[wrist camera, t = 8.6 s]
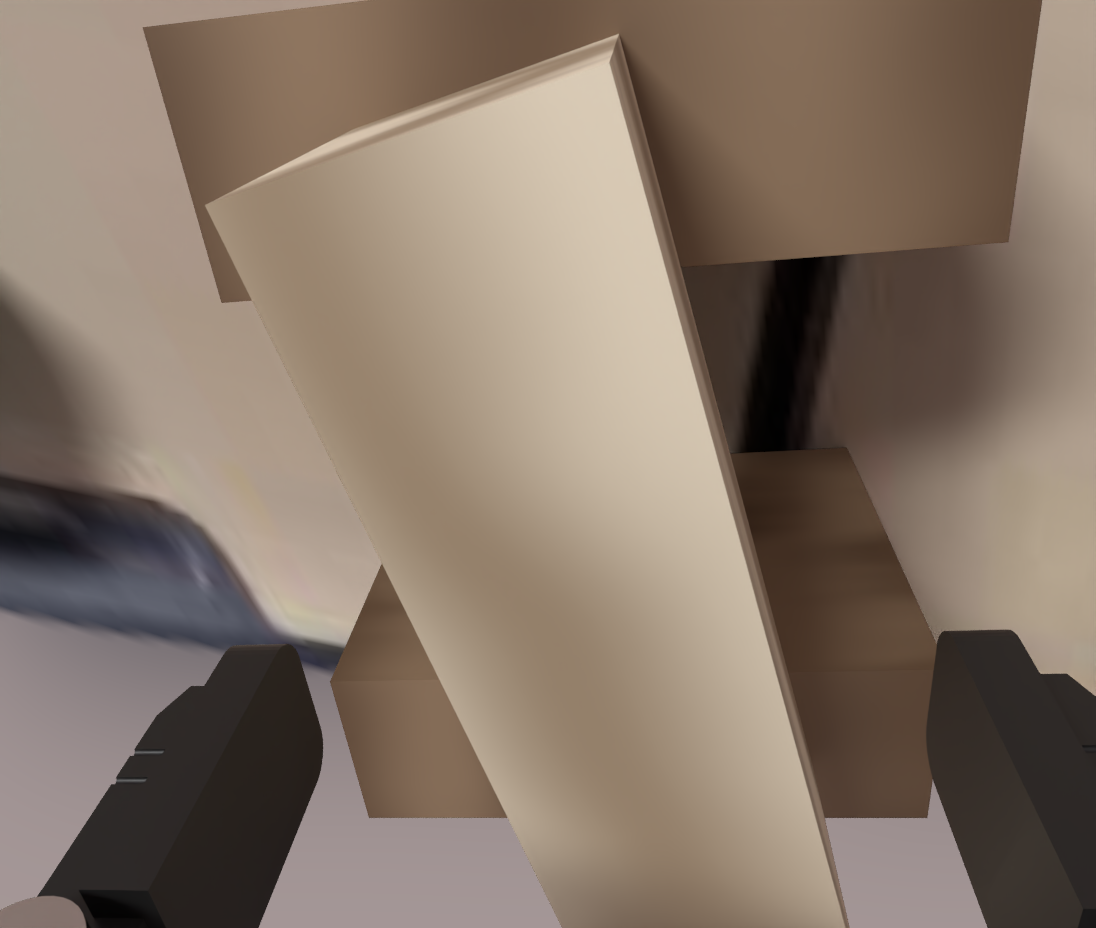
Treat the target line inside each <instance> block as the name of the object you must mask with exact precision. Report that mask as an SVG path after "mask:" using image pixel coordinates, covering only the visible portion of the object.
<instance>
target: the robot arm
mask: <svg viewBox="0 0 1096 928" xmlns="http://www.w3.org/2000/svg"><path fill="white" fill-rule="evenodd" d="M926 744H927V754H928V760H929V766H930V770H931V774H932V778H933V781H934V783H935V786H936V789H937V792H938V794H939V797H940V800H941V803H942V805H943V808H944V811H945V813H946V816H947V819H948V822H949V824H950V827H951V830H952V832H953V835H954V838H955V841H956V843H957V846H958V849H959V851H960V854H961V857H962V859H963V862H964V865H965V868H966V870H967V873H968V876H969V878H970V881H971V884H972V886H973V889H974V892H975V895H976V897H977V900H978V903H979V905H980V908H981V910H982V914H983V916H984V919H985V922H986V924H987V927H988V928H1096V696H1094V695H1093V694H1092V693H1091V692H1089V691H1088V690H1087V689H1085V688H1084V687H1083V686H1082V685H1080V684H1079V683H1078V682H1077V681H1075V680H1074V679H1073V678H1072V677H1070V676H1069V675H1068V674H1040V673H1039V671H1038V670H1037V668H1036V666H1035V664H1034V663H1033V661H1032V659H1031V658H1030V656H1029V654H1028V652H1027V651H1026V649H1025V647H1024V645H1023V644H1022V642H1021V640H1020V639H1019V637H1018V636H1017V635H1016V634H1015V633H1014V632H1013V631H1011V630H971V631H944V632H942V633H941V634H940V636H939V639H938V642H937V648H936V656H935V663H934V671H933V679H932V686H931V694H930V701H929V709H928V717H927V725H926ZM322 758H323V738H322V731H321V728H320V724H319V721H318V717H317V714H316V711H315V707H314V704H313V701H312V698H311V694H310V691H309V688H308V684H307V681H306V678H305V674H304V671H303V668H302V665H301V661H300V658H299V655H298V653H297V651H296V649H295V648H294V647H293V646H292V645H289V644H274V645H236V646H232V647H230V648H229V649H228V650H227V651H226V652H225V654H224V655H223V657H222V658H221V660H220V661H219V663H218V665H217V666H216V668H215V669H214V671H213V673H212V674H211V676H210V678H209V680H208V681H207V683H206V684H205V686H191V687H190V688H188V689H187V690H186V691H185V692H184V693H183V694H181V695H180V696H179V697H178V698H177V699H176V700H174V701H173V702H172V703H171V704H170V705H169V706H167V707H166V708H165V709H164V710H163V711H162V712H160V713H159V714H158V715H157V716H156V718H155V719H154V721H153V722H152V724H151V725H150V727H149V728H148V730H147V731H146V733H145V734H144V736H143V737H142V739H141V740H140V742H139V743H138V745H137V746H136V748H135V754H134V756H130V757H129V759H128V760H127V762H126V763H125V765H124V766H123V768H122V769H121V771H120V772H119V774H118V775H117V777H116V778H117V781H116V784H112V785H111V786H110V787H109V789H108V791H107V792H106V793H105V795H104V796H103V798H102V799H101V801H100V803H99V804H98V806H97V807H96V809H95V810H94V812H93V813H92V815H91V816H90V818H89V819H88V821H87V822H86V824H85V825H84V827H83V828H82V830H81V831H80V833H79V834H78V836H77V837H76V839H75V840H74V842H73V844H72V845H71V847H70V848H69V850H68V851H67V853H66V854H65V856H64V858H63V859H62V860H61V862H60V863H59V865H58V866H57V868H56V869H55V871H54V873H53V874H52V876H51V877H50V878H49V880H48V881H47V883H46V884H45V886H44V888H43V889H42V890H41V892H40V893H39V895H38V896H37V897H34V898H30V899H26V900H23V901H20V902H17V903H15V904H12V905H10V906H7V907H5V908H3V909H1V910H0V928H258V927H259V925H260V922H261V920H262V917H263V915H264V912H265V910H266V907H267V905H268V903H269V900H270V897H271V895H272V893H273V890H274V888H275V885H276V883H277V880H278V878H279V875H280V873H281V870H282V868H283V865H284V863H285V860H286V858H287V855H288V853H289V850H290V848H291V845H292V843H293V841H294V838H295V835H296V833H297V830H298V828H299V826H300V823H301V821H302V818H303V816H304V813H305V811H306V808H307V806H308V803H309V801H310V798H311V795H312V793H313V791H314V788H315V786H316V783H317V781H318V778H319V775H320V771H321V765H322Z"/></svg>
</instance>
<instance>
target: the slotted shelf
mask: <svg viewBox="0 0 1096 928" xmlns="http://www.w3.org/2000/svg"><path fill="white" fill-rule="evenodd" d="M1041 5H1042V0H368V1H359V2H351V3H343V4H334V5H326V6H318V7H309V8H301V9H293V10H284V11H276V12H268V13H259V14H251V15H243V16H234V17H226V18H218V19H209V20H201V21H193V22H184V23H176V24H168V25H159V26H151V27H143V30H144V33H145V37H146V40H147V44H148V47H149V51H150V54H151V58H152V61H153V65H154V68H155V72H156V75H157V79H158V82H159V86H160V89H161V93H162V96H163V100H164V103H165V107H166V110H167V114H168V117H169V121H170V124H171V128H172V131H173V135H174V138H175V142H176V145H177V149H178V152H179V156H180V159H181V163H182V166H183V170H184V173H185V177H186V180H187V184H188V187H189V191H190V194H191V198H192V201H193V205H194V208H195V212H196V215H197V219H198V222H199V226H200V229H201V233H202V236H203V240H204V243H205V247H206V250H207V254H208V257H209V260H210V264H211V267H212V271H213V274H214V278H215V281H216V285H217V288H218V292H219V295H220V299H221V302H222V303H226V302H239V301H252V300H251V298H250V296H249V294H248V292H247V289H246V287H245V285H244V283H243V281H242V279H241V277H240V275H239V273H238V271H237V269H236V267H235V265H234V263H233V261H232V259H231V257H230V255H229V253H228V251H227V249H226V247H225V245H224V243H223V241H222V239H221V237H220V235H219V233H218V231H217V229H216V227H215V225H214V223H213V221H212V219H211V217H210V215H209V213H208V211H207V209H206V207H205V205H206V204H208V203H210V202H212V201H214V200H216V199H218V198H220V197H222V196H224V195H226V194H228V193H230V192H232V191H234V190H236V189H237V188H239V187H241V186H243V185H245V184H247V183H249V182H251V181H253V180H255V179H257V178H259V177H261V176H263V175H265V174H267V173H269V172H271V171H273V170H275V169H277V168H279V167H280V166H282V165H284V164H286V163H288V162H290V161H292V160H294V159H296V158H298V157H300V156H302V155H304V154H306V153H308V152H310V151H312V150H314V149H316V148H318V147H320V146H322V145H323V144H325V143H327V142H329V141H331V140H333V139H335V138H337V137H339V136H341V135H343V134H345V133H347V132H349V131H351V130H353V129H356V128H358V127H361V126H364V125H367V124H370V123H372V122H375V121H378V120H381V119H383V118H386V117H389V116H392V115H395V114H397V113H400V112H403V111H406V110H408V109H411V108H414V107H417V106H420V105H422V104H425V103H428V102H431V101H434V100H436V99H439V98H442V97H445V96H447V95H450V94H453V93H456V92H459V91H461V90H464V89H467V88H470V87H472V86H475V85H478V84H481V83H484V82H486V81H489V80H492V79H495V78H497V77H500V76H503V75H506V74H509V73H511V72H514V71H517V70H520V69H522V68H525V67H528V66H531V65H534V64H536V63H539V62H542V61H545V60H547V59H550V58H553V57H556V56H559V55H561V54H564V53H567V52H570V51H572V50H575V49H578V48H581V47H584V46H586V45H589V44H592V43H595V42H597V41H600V40H603V39H606V38H609V37H611V36H614V35H617V34H619V36H620V40H621V44H622V48H623V51H624V55H625V59H626V63H627V66H628V70H629V74H630V78H631V82H632V85H633V89H634V93H635V97H636V100H637V104H638V108H639V112H640V115H641V119H642V123H643V127H644V131H645V134H646V138H647V142H648V146H649V149H650V153H651V157H652V161H653V165H654V168H655V172H656V176H657V180H658V183H659V187H660V191H661V195H662V199H663V202H664V206H665V210H666V214H667V217H668V221H669V225H670V229H671V232H672V236H673V240H674V244H675V248H676V251H677V255H678V259H679V263H680V266H681V267H692V266H705V265H718V264H731V263H744V262H757V261H770V260H783V259H796V258H809V257H822V256H835V255H847V254H860V253H873V252H886V251H899V250H912V249H925V248H938V247H951V246H964V245H977V244H990V243H1003V242H1008V240H1009V232H1010V225H1011V218H1012V211H1013V204H1014V197H1015V190H1016V183H1017V176H1018V168H1019V161H1020V154H1021V147H1022V140H1023V133H1024V126H1025V119H1026V112H1027V104H1028V97H1029V90H1030V83H1031V76H1032V69H1033V62H1034V55H1035V48H1036V40H1037V33H1038V26H1039V19H1040V12H1041ZM730 455H731V459H732V463H733V466H734V470H735V474H736V478H737V482H738V485H739V489H740V493H741V497H742V500H743V504H744V508H745V512H746V516H747V519H748V523H749V527H750V531H751V534H752V538H753V542H754V546H755V549H756V553H757V557H758V561H759V565H760V568H761V572H762V576H763V580H764V583H765V587H766V591H767V595H768V599H769V602H770V606H771V610H772V614H773V617H774V621H775V625H776V629H777V633H778V636H779V640H780V644H781V648H782V651H783V655H784V659H785V663H786V666H787V670H788V674H789V678H790V682H791V685H792V689H793V693H794V697H795V700H796V704H797V708H798V712H799V716H800V719H801V723H802V727H803V731H804V734H805V738H806V742H807V746H808V750H809V753H810V757H811V761H812V765H813V769H814V774H815V778H816V782H817V787H818V791H819V796H820V800H821V804H822V809H823V813H824V818H927V815H928V808H929V801H930V794H931V787H932V780H933V778H932V774H931V770H930V766H929V760H928V754H927V744H926V725H927V717H928V709H929V701H930V694H931V686H932V679H933V671H934V663H935V656H936V648H937V644H936V642H935V640H934V638H933V635H932V633H931V631H930V629H929V627H928V624H927V622H926V620H925V618H924V616H923V613H922V611H921V609H920V607H919V605H918V603H917V600H916V598H915V596H914V594H913V592H912V589H911V587H910V585H909V583H908V581H907V578H906V576H905V574H904V572H903V570H902V567H901V565H900V563H899V561H898V559H897V557H896V554H895V552H894V550H893V548H892V546H891V543H890V541H889V539H888V537H887V535H886V532H885V530H884V528H883V526H882V524H881V522H880V519H879V517H878V515H877V513H876V511H875V508H874V506H873V504H872V502H871V500H870V497H869V495H868V493H867V491H866V489H865V487H864V484H863V482H862V480H861V478H860V476H859V473H858V471H857V469H856V467H855V465H854V462H853V460H852V458H851V456H850V454H849V451H848V449H847V448H832V449H812V450H792V451H772V452H753V453H733V454H730ZM330 683H331V686H332V690H333V694H334V697H335V701H336V704H337V707H338V711H339V714H340V718H341V721H342V725H343V728H344V731H345V735H346V739H347V742H348V746H349V749H350V753H351V756H352V760H353V763H354V767H355V770H356V774H357V777H358V780H359V784H360V788H361V791H362V795H363V798H364V802H365V805H366V809H367V812H368V816H369V818H508V817H507V815H506V813H505V811H504V809H503V807H502V805H501V803H500V801H499V799H498V797H497V795H496V793H495V791H494V789H493V787H492V785H491V783H490V781H489V779H488V777H487V775H486V773H485V771H484V769H483V767H482V765H481V763H480V761H479V759H478V757H477V755H476V753H475V751H474V749H473V747H472V745H471V743H470V741H469V738H468V736H467V734H466V732H465V730H464V728H463V726H462V724H461V722H460V720H459V718H458V716H457V714H456V712H455V710H454V708H453V706H452V704H451V702H450V700H449V698H448V696H447V694H446V692H445V690H444V688H443V686H442V684H441V682H440V680H439V678H438V676H437V674H436V672H435V670H434V668H433V666H432V664H431V662H430V660H429V658H428V656H427V654H426V652H425V649H424V647H423V645H422V643H421V641H420V639H419V637H418V635H417V633H416V631H415V629H414V627H413V625H412V623H411V621H410V619H409V617H408V615H407V613H406V611H405V609H404V607H403V605H402V603H401V601H400V599H399V597H398V595H397V593H396V591H395V589H394V587H393V585H392V583H391V581H390V579H389V577H388V575H387V573H386V571H385V569H384V567H383V565H382V564H381V567H380V569H379V571H378V574H377V576H376V578H375V580H374V583H373V585H372V587H371V590H370V592H369V594H368V596H367V599H366V601H365V603H364V606H363V608H362V610H361V612H360V615H359V617H358V619H357V622H356V624H355V626H354V628H353V631H352V633H351V635H350V638H349V640H348V642H347V644H346V647H345V649H344V651H343V653H342V656H341V658H340V660H339V663H338V665H337V667H336V669H335V672H334V674H333V676H332V679H331V681H330Z"/></svg>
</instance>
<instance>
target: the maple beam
mask: <svg viewBox="0 0 1096 928" xmlns="http://www.w3.org/2000/svg"><path fill="white" fill-rule="evenodd" d="M205 207H206V209H207V211H208V213H209V215H210V217H211V219H212V221H213V223H214V225H215V227H216V229H217V231H218V233H219V235H220V237H221V239H222V241H223V243H224V245H225V247H226V249H227V251H228V253H229V255H230V257H231V259H232V261H233V263H234V265H235V267H236V269H237V271H238V273H239V275H240V277H241V279H242V281H243V283H244V285H245V287H246V289H247V292H248V294H249V296H250V298H251V300H252V302H253V304H254V306H255V308H256V310H257V312H258V314H259V316H260V318H261V320H262V322H263V324H264V326H265V328H266V330H267V332H268V334H269V336H270V338H271V340H272V342H273V344H274V346H275V348H276V350H277V352H278V354H279V356H280V358H281V360H282V362H283V364H284V366H285V368H286V370H287V372H288V374H289V376H290V378H291V381H292V383H293V385H294V387H295V389H296V391H297V393H298V395H299V397H300V399H301V401H302V403H303V405H304V407H305V409H306V411H307V413H308V415H309V417H310V419H311V421H312V423H313V425H314V427H315V429H316V431H317V433H318V435H319V437H320V439H321V441H322V443H323V445H324V447H325V449H326V451H327V453H328V455H329V457H330V459H331V461H332V463H333V465H334V467H335V469H336V472H337V474H338V476H339V478H340V480H341V482H342V484H343V486H344V488H345V490H346V492H347V494H348V496H349V498H350V500H351V502H352V504H353V506H354V508H355V510H356V512H357V514H358V516H359V518H360V520H361V522H362V524H363V526H364V528H365V530H366V532H367V534H368V536H369V538H370V540H371V542H372V544H373V546H374V548H375V550H376V552H377V554H378V556H379V558H380V561H381V563H382V565H383V567H384V569H385V571H386V573H387V575H388V577H389V579H390V581H391V583H392V585H393V587H394V589H395V591H396V593H397V595H398V597H399V599H400V601H401V603H402V605H403V607H404V609H405V611H406V613H407V615H408V617H409V619H410V621H411V623H412V625H413V627H414V629H415V631H416V633H417V635H418V637H419V639H420V641H421V643H422V645H423V647H424V649H425V652H426V654H427V656H428V658H429V660H430V662H431V664H432V666H433V668H434V670H435V672H436V674H437V676H438V678H439V680H440V682H441V684H442V686H443V688H444V690H445V692H446V694H447V696H448V698H449V700H450V702H451V704H452V706H453V708H454V710H455V712H456V714H457V716H458V718H459V720H460V722H461V724H462V726H463V728H464V730H465V732H466V734H467V736H468V738H469V741H470V743H471V745H472V747H473V749H474V751H475V753H476V755H477V757H478V759H479V761H480V763H481V765H482V767H483V769H484V771H485V773H486V775H487V777H488V779H489V781H490V783H491V785H492V787H493V789H494V791H495V793H496V795H497V797H498V799H499V801H500V803H501V805H502V807H503V809H504V811H505V813H506V815H507V817H508V819H509V821H510V823H511V825H512V827H513V829H514V831H515V833H516V836H517V838H518V839H519V842H520V843H521V845H522V848H523V850H524V852H525V854H526V856H527V858H528V860H529V861H530V864H531V866H532V868H533V870H534V872H535V874H536V876H537V878H538V880H539V882H540V884H541V886H542V888H543V890H544V892H545V894H546V896H547V898H548V900H549V902H550V904H551V906H552V908H553V910H554V912H555V914H556V916H557V918H558V921H559V923H560V925H561V927H562V928H849V923H848V919H847V915H846V910H845V906H844V901H843V897H842V892H841V888H840V884H839V879H838V875H837V871H836V866H835V862H834V857H833V853H832V848H831V844H830V840H829V835H828V831H827V826H826V823H825V818H824V813H823V809H822V804H821V800H820V796H819V791H818V787H817V782H816V778H815V774H814V769H813V765H812V761H811V757H810V753H809V750H808V746H807V742H806V738H805V734H804V731H803V727H802V723H801V719H800V716H799V712H798V708H797V704H796V700H795V697H794V693H793V689H792V685H791V682H790V678H789V674H788V670H787V666H786V663H785V659H784V655H783V651H782V648H781V644H780V640H779V636H778V633H777V629H776V625H775V621H774V617H773V614H772V610H771V606H770V602H769V599H768V595H767V591H766V587H765V583H764V580H763V576H762V572H761V568H760V565H759V561H758V557H757V553H756V549H755V546H754V542H753V538H752V534H751V531H750V527H749V523H748V519H747V516H746V512H745V508H744V504H743V500H742V497H741V493H740V489H739V485H738V482H737V478H736V474H735V470H734V466H733V463H732V459H731V455H730V451H729V448H728V444H727V440H726V436H725V432H724V429H723V425H722V421H721V417H720V414H719V410H718V406H717V402H716V399H715V395H714V391H713V387H712V383H711V380H710V376H709V372H708V368H707V365H706V361H705V357H704V353H703V349H702V346H701V342H700V338H699V334H698V331H697V327H696V323H695V319H694V315H693V312H692V308H691V304H690V300H689V297H688V293H687V289H686V285H685V282H684V278H683V274H682V270H681V266H680V263H679V259H678V255H677V251H676V248H675V244H674V240H673V236H672V232H671V229H670V225H669V221H668V217H667V214H666V210H665V206H664V202H663V199H662V195H661V191H660V187H659V183H658V180H657V176H656V172H655V168H654V165H653V161H652V157H651V153H650V149H649V146H648V142H647V138H646V134H645V131H644V127H643V123H642V119H641V115H640V112H639V108H638V104H637V100H636V97H635V93H634V89H633V85H632V82H631V78H630V74H629V70H628V66H627V63H626V59H625V55H624V51H623V48H622V44H621V40H620V36H619V34H617V35H614V36H611V37H609V38H606V39H603V40H600V41H597V42H595V43H592V44H589V45H586V46H584V47H581V48H578V49H575V50H572V51H570V52H567V53H564V54H561V55H559V56H556V57H553V58H550V59H547V60H545V61H542V62H539V63H536V64H534V65H531V66H528V67H525V68H522V69H520V70H517V71H514V72H511V73H509V74H506V75H503V76H500V77H497V78H495V79H492V80H489V81H486V82H484V83H481V84H478V85H475V86H472V87H470V88H467V89H464V90H461V91H459V92H456V93H453V94H450V95H447V96H445V97H442V98H439V99H436V100H434V101H431V102H428V103H425V104H422V105H420V106H417V107H414V108H411V109H408V110H406V111H403V112H400V113H397V114H395V115H392V116H389V117H386V118H383V119H381V120H378V121H375V122H372V123H370V124H367V125H364V126H361V127H358V128H356V129H353V130H351V131H349V132H347V133H345V134H343V135H341V136H339V137H337V138H335V139H333V140H331V141H329V142H327V143H325V144H323V145H322V146H320V147H318V148H316V149H314V150H312V151H310V152H308V153H306V154H304V155H302V156H300V157H298V158H296V159H294V160H292V161H290V162H288V163H286V164H284V165H282V166H280V167H279V168H277V169H275V170H273V171H271V172H269V173H267V174H265V175H263V176H261V177H259V178H257V179H255V180H253V181H251V182H249V183H247V184H245V185H243V186H241V187H239V188H237V189H236V190H234V191H232V192H230V193H228V194H226V195H224V196H222V197H220V198H218V199H216V200H214V201H212V202H210V203H208V204H206V205H205Z"/></svg>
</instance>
